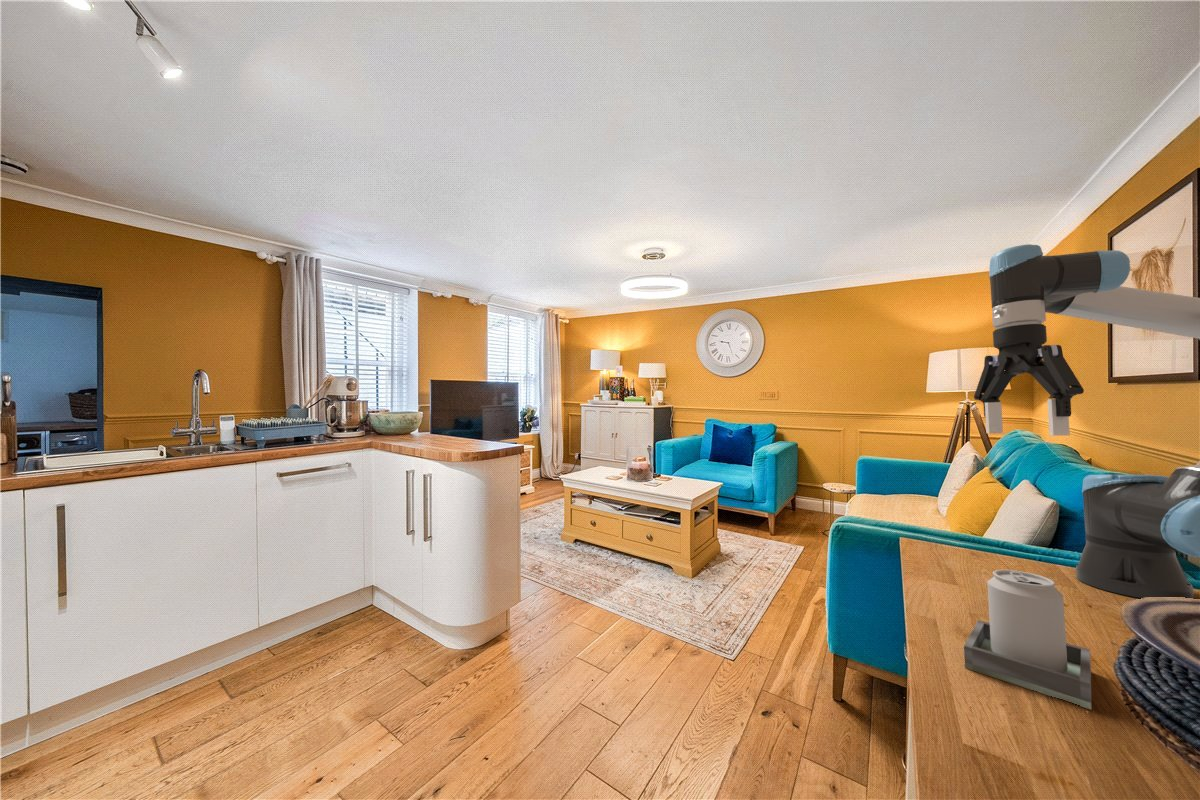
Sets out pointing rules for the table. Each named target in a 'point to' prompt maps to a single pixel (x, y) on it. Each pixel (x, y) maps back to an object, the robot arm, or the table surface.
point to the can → (1027, 619)
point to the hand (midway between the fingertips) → (1024, 434)
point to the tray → (1031, 669)
